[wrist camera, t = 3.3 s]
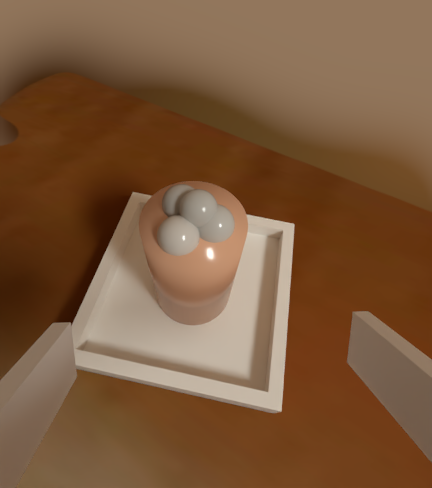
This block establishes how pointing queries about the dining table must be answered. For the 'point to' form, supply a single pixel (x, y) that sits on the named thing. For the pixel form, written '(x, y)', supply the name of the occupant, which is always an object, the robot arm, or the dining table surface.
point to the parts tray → (191, 336)
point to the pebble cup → (193, 248)
